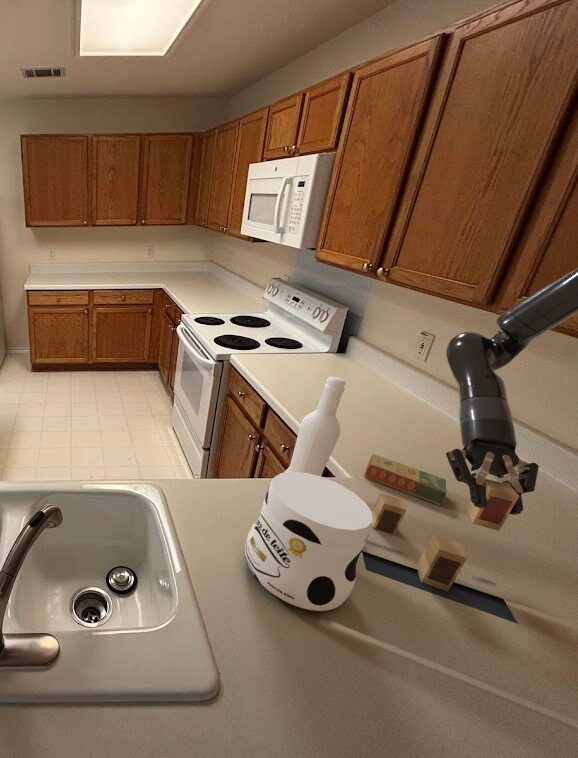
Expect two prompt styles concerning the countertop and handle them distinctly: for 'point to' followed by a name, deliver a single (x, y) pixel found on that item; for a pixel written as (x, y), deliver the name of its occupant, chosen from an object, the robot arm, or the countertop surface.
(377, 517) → the tan wooden block
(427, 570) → the brown panel wooden block
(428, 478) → the carton
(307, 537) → the milk container
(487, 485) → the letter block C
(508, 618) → the word mat
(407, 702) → the countertop surface
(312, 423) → the bottle
